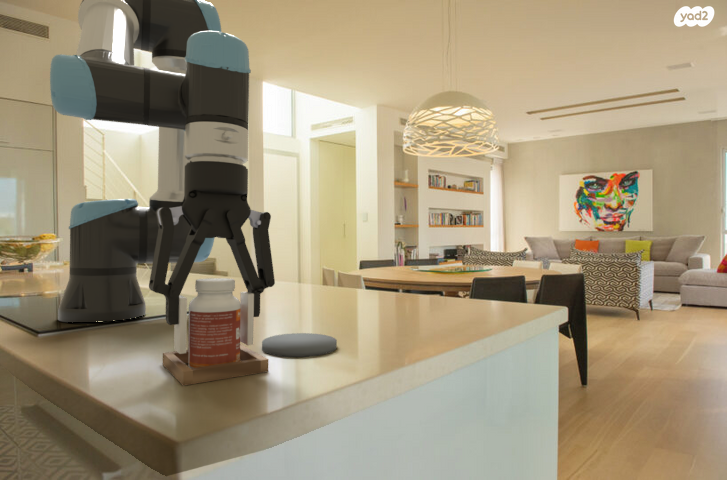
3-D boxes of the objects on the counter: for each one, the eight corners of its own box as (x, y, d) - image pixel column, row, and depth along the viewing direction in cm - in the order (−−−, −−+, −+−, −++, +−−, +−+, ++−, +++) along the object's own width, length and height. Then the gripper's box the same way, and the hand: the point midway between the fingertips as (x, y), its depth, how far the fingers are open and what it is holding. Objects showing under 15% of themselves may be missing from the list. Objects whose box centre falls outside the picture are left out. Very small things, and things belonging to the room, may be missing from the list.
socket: (162, 364, 59) (162, 352, 59) (238, 354, 65) (238, 343, 65) (183, 385, 51) (183, 372, 51) (268, 371, 57) (268, 359, 57)
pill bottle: (247, 370, 57) (248, 280, 57) (195, 378, 54) (196, 282, 54) (231, 359, 62) (232, 276, 62) (182, 365, 59) (184, 278, 59)
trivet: (250, 344, 71) (250, 338, 71) (313, 336, 77) (313, 330, 77) (282, 361, 62) (282, 353, 62) (350, 350, 68) (350, 343, 68)
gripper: (131, 149, 49) (129, 366, 49) (304, 168, 61) (301, 342, 61) (120, 158, 55) (118, 351, 55) (279, 174, 67) (277, 332, 67)
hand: (214, 346), depth 58 cm, fingers open, 8 cm apart
